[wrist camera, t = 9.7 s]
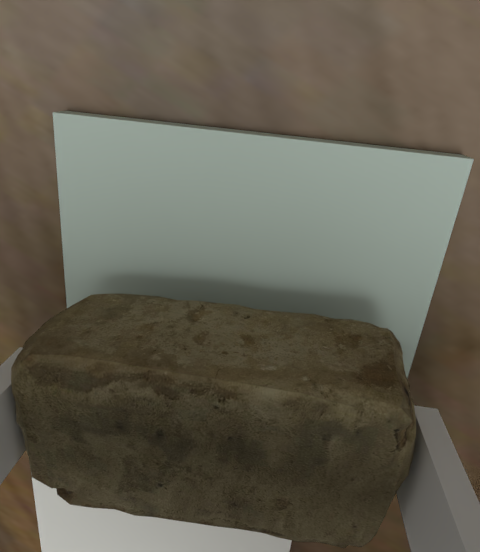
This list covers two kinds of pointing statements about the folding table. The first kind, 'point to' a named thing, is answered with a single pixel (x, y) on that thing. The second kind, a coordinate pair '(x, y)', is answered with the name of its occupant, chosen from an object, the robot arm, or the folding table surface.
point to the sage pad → (255, 219)
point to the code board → (135, 531)
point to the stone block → (218, 415)
